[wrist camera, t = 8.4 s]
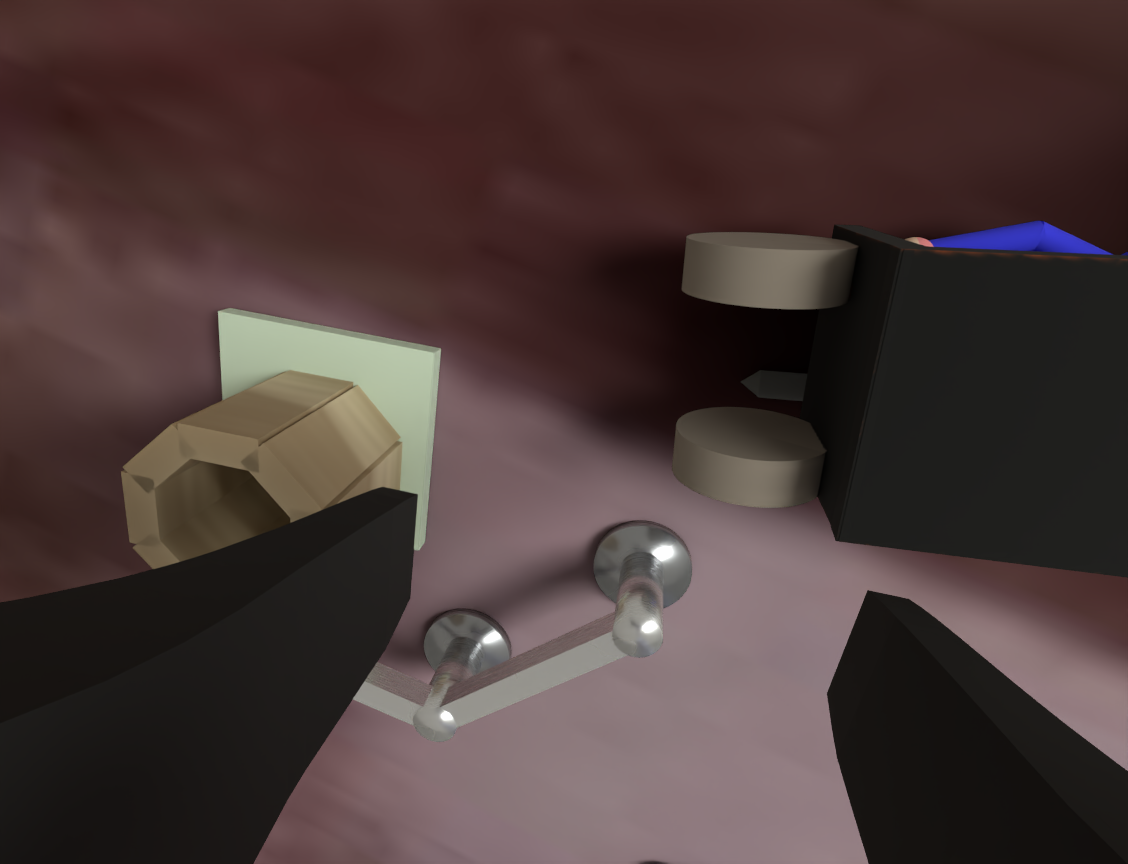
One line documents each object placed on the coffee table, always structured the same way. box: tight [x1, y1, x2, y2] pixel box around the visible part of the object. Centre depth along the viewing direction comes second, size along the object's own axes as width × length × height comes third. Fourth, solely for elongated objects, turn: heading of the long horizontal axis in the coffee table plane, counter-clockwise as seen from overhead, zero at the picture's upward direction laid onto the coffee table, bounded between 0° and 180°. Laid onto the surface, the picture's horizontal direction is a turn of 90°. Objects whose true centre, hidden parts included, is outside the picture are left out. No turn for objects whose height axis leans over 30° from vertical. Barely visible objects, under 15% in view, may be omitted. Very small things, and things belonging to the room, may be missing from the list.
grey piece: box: [353, 521, 692, 742], centre depth 21 cm, size 8×15×4 cm, turn 81°
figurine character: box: [672, 221, 1128, 577], centre depth 15 cm, size 7×8×15 cm
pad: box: [218, 308, 441, 551], centre depth 21 cm, size 7×7×1 cm
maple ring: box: [121, 370, 403, 569], centre depth 19 cm, size 6×6×5 cm
